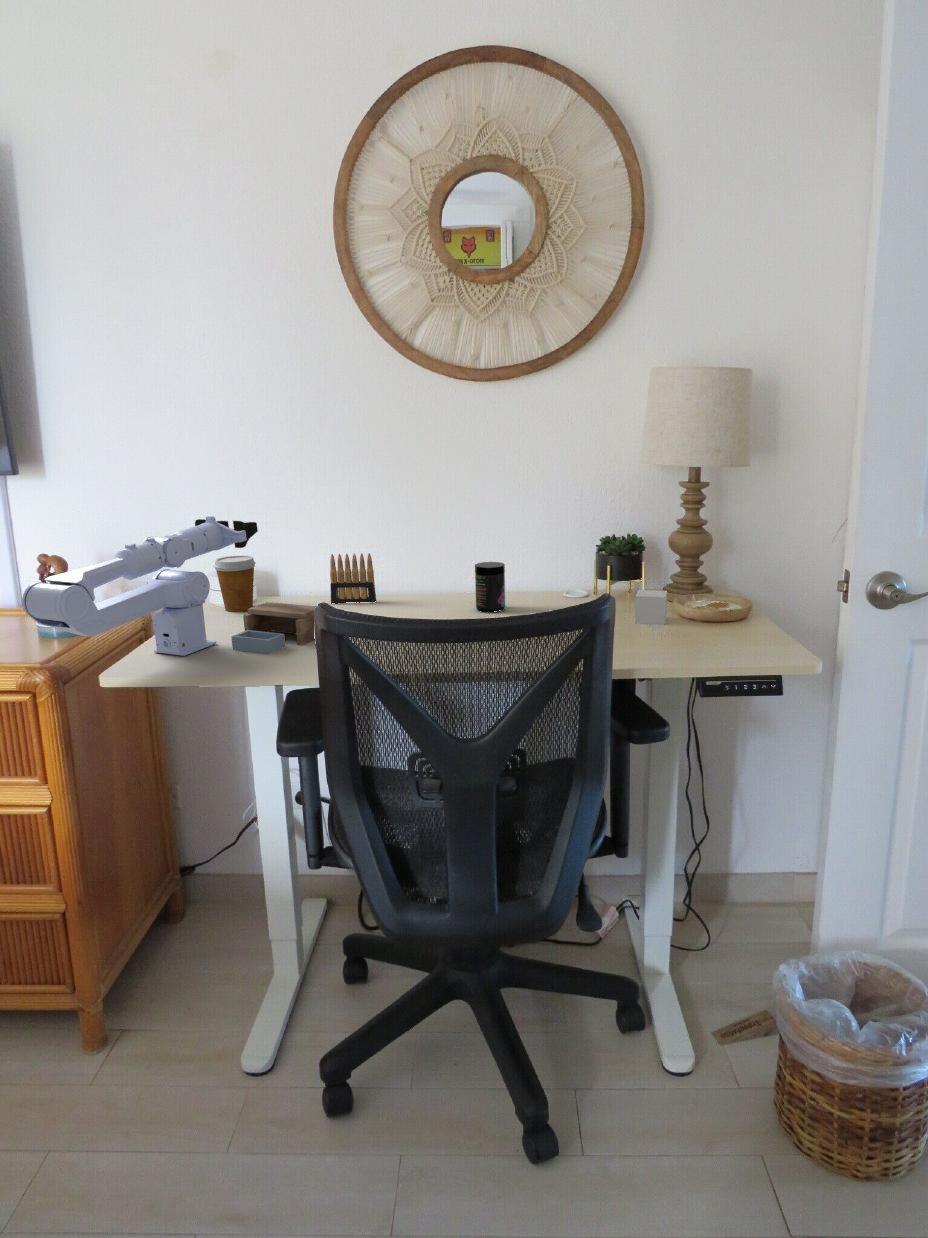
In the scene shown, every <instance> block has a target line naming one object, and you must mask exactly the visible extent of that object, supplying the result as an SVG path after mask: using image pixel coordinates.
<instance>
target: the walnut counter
mask: <svg viewBox="0 0 928 1238" xmlns="http://www.w3.org/2000/svg"><path fill="white" fill-rule="evenodd" d="M315 607H316V605H307V604H306V605H304V604H295V603H294V604H293V603H284V602H283V603H282V602H273V601H272V602H271V601H267V602H264V603H260V604H258V605H255V606H253V607H252V608H249V609H248V610H247V613H246V614H243V616H242V618H243V625H244V631H247V630H252V631H261V632H276V633H288V634H295V633H297V634H296V642H297V646H303V645H306V644H307V642H308V643H310V642H313V641H314V609H315Z"/></svg>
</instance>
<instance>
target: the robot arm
mask: <svg viewBox="0 0 928 1238" xmlns="http://www.w3.org/2000/svg"><path fill="white" fill-rule="evenodd" d="M194 525H195V526H193V527H188V528H185V529H181V530H178V531H176V532H175V531H174V533H171V534H167V535H164V536H146V537H145V538H144V539H143V541H142V542H141V543H138V544H136V543H126V544H124V548H123V549H120V550H118V551H117V552H116V554H115V556H114V558H113V559H110V560H107V561H103V562H102V561H101V562H100V563H96V564H93V565H88V566H85V567H81V568H77V569H73V570H70V571H66V572H62V573H59V574H54V575H50V576H48V577H46V578H44V579H43V582H42V581H37V582H33V583H31V584H30V585H28V586H27V587H26V589H24V592H23V594H22V599H21V600H22V601H21V603H22V604H21V605H22V609H23V611H24V612H25V613H26V615H27V616H28V617H29V618H30V619H32V620H33V621H34V622H36V624H38V625H41V626H46V627H50V628H53V629H57V630H60V631H62V632H63V631H64V632H67V633H70V634H73V635H77V636H83V637H90V638H92V637H96V636H98V635H100V634H104V633H105V632H108V631H110V630H112V629H116V628H118V627H121V626H122V625H125V624H127V623H130V622H133V621H135V620H137V619H139V618H142V617H145V616H148V615H150V614H151V613H152V614H153V613H155V612H157V611H158V612H157V613H156V614H155V615H154V617H153V629H154V637H155V644H156V646H155V647H156V648H154V649H153V652H154V653H159V654H165V655H166V654H167V655H175V656H182V657H183V656H184V657H185V656H188V655H190V654H193V653H196V652H198V651H200V650H203V649H206V648H208V647H211V646H213V645H216V644H217V641H216V640H211V639H207V633H206V624H205V623H206V622H205V614H204V613H205V612H204V605H203V604H205V603H206V600H207V598H208V596H209V593H210V589H211V585H210V580H209V578H208V576H207V575H206V574H205V573H204V572H203V571H188V570H187V571H185V570H176V569H175V570H172V569H169V568H177V569H179V568H181V567H182V566H183V565H184V564H185V562H186V561H187V560H190V559H193V558H196V557H199V556H202V555H206V554H208V553H210V552H213V551H220V550H222V549H224V548H228V547H229V546H231V545H234V547H235V549H242V548H246V547H247V544H248V541H249V540H250V539H251V538H253V536H255V534H257V533H258V532H259V531H258V530H259V529H258V525H257V522H256V521H249V522H248V521H247V522H244V521H241V520H232V525H233V528H230V527H229V526H230V525H229V520H216V516H214V515H209V516H205V519H203V518H198V519H196V520H195V521H194ZM162 568H163V569H162ZM157 571H158V572H157ZM154 572H155V573H156V572H157V573H156V574H155V575H154V576H153V577H151V578H150V579H147V581H146V584H144V585H141V586H139V587H136V588H133V589H130V590H128V591H125V592H123V593H120V594H117V595H114V596H112V597H110V598H107V599H104V600H101V601H99V602H96V603H95V600H96V597H95V589H96V588H97V589H98V587H101V586H103V585H106V584H107V583H111V582H113V581H115V580H117V579H120V578H121V577H122V578H124V579H125V580H129V581H132V580H135V579H137V578H138V579H139V578H141V577H143V576H147V575H150V574H152V573H154ZM44 581H47V582H48V583H47V582H44ZM159 610H160V611H159Z"/></svg>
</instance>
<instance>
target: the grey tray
mask: <svg viewBox="0 0 928 1238" xmlns="http://www.w3.org/2000/svg"><path fill="white" fill-rule="evenodd" d="M231 646H232V647H231V648H232V650H233V651H234V650H235V651H241V650H242V652H243V651H244V652H249V653H259V654H268V655H271V654H273V653H276V652H277V651H280V650H282V649H284V648H286V639H285V633H281V632H272V631H269V632H261V631H252V630H247V631H245V630H244V631H242V632H239V633H236V634H234V635H231Z"/></svg>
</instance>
